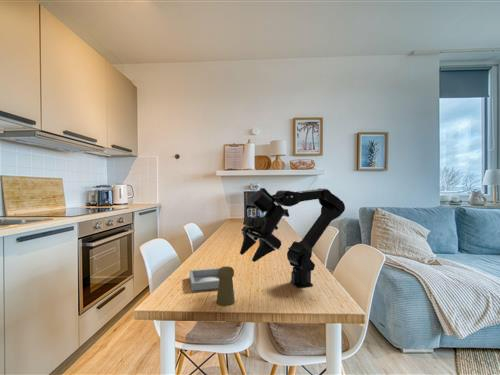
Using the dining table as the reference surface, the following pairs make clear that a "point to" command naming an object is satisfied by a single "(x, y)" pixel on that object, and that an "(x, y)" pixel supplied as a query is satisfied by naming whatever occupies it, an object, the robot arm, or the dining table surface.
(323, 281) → the dining table surface
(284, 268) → the dining table surface
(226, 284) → the cork
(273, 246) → the robot arm
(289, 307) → the dining table surface
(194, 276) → the walled pen
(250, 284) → the dining table surface
